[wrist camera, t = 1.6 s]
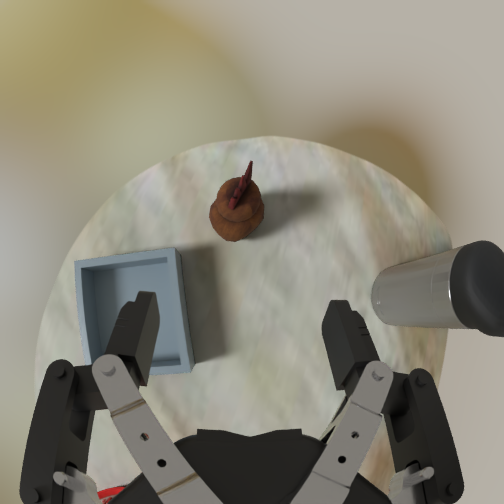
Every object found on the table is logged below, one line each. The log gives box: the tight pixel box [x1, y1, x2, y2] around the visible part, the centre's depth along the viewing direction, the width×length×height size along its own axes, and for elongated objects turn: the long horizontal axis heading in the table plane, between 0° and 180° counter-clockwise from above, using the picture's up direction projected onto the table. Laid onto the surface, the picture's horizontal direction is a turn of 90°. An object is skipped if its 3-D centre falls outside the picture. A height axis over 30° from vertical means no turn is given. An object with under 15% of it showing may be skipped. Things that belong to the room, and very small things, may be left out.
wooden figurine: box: [209, 161, 264, 242], centre depth 33 cm, size 7×6×15 cm
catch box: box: [75, 248, 195, 375], centre depth 34 cm, size 14×15×5 cm
